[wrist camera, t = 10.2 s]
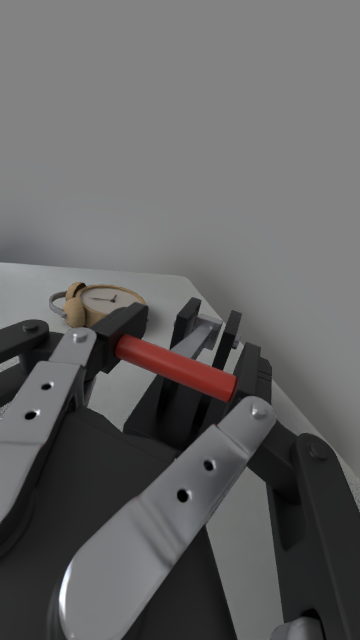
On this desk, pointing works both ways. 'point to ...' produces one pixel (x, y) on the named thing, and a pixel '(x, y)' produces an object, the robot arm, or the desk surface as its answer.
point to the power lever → (182, 359)
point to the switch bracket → (182, 393)
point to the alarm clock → (92, 303)
